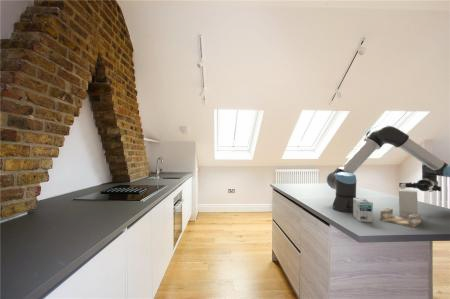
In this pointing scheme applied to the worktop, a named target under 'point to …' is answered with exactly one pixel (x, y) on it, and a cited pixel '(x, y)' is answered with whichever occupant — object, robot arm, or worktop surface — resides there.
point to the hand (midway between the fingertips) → (414, 188)
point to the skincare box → (407, 203)
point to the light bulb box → (362, 210)
